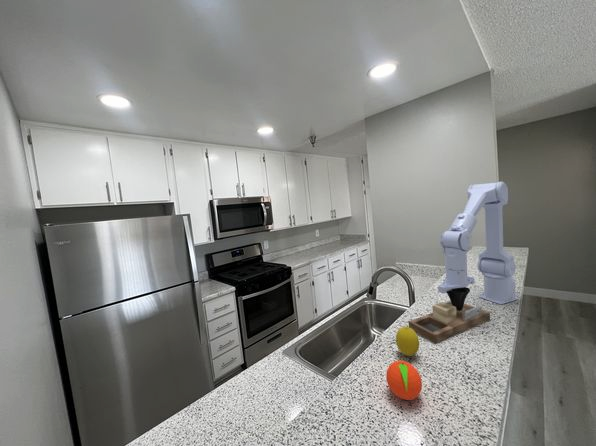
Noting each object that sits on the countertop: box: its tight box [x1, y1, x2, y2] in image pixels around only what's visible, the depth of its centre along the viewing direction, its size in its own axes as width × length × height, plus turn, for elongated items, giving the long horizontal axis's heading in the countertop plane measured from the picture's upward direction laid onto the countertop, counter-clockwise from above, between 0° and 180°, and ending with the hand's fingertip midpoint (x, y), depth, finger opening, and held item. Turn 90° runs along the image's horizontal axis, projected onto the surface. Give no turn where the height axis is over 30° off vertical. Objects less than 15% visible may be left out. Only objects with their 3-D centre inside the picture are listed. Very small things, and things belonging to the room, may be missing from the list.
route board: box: [408, 303, 491, 345], centre depth 74 cm, size 25×9×2 cm, turn 112°
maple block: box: [432, 301, 457, 323], centre depth 74 cm, size 4×4×4 cm
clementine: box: [385, 360, 423, 401], centre depth 49 cm, size 8×7×7 cm
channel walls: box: [443, 299, 482, 321], centre depth 76 cm, size 8×8×2 cm
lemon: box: [395, 326, 420, 357], centre depth 62 cm, size 6×6×8 cm
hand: (457, 309), depth 76 cm, fingers closed
